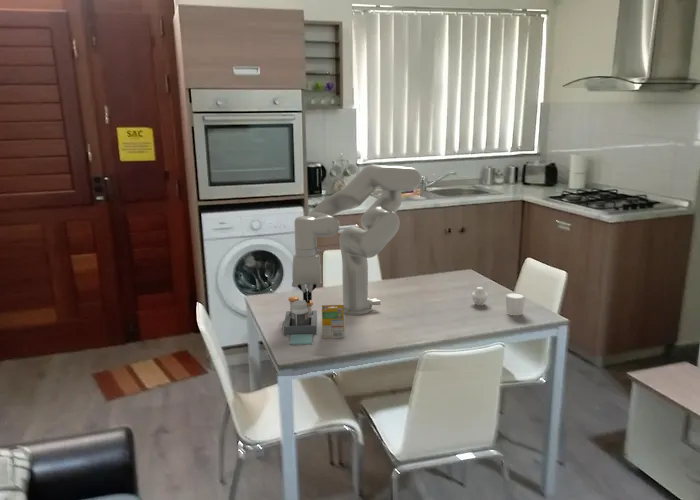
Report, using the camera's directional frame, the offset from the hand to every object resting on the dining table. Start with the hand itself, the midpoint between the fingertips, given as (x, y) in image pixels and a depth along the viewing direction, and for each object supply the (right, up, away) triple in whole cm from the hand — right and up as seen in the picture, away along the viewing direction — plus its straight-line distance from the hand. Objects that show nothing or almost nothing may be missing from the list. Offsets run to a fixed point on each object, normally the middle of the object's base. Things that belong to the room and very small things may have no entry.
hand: (307, 301), depth 199 cm
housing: (-2, -8, -3) cm, 9 cm away
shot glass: (+76, -5, +7) cm, 76 cm away
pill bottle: (-2, -9, -6) cm, 11 cm away
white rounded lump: (+65, -3, +17) cm, 67 cm away
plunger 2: (0, -6, +2) cm, 7 cm away
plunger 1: (-5, -5, +1) cm, 7 cm away
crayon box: (+10, -11, -12) cm, 19 cm away
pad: (-1, -11, -15) cm, 18 cm away
